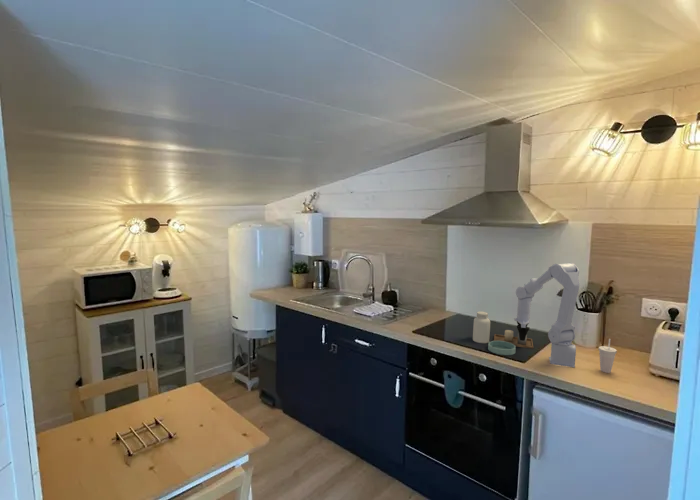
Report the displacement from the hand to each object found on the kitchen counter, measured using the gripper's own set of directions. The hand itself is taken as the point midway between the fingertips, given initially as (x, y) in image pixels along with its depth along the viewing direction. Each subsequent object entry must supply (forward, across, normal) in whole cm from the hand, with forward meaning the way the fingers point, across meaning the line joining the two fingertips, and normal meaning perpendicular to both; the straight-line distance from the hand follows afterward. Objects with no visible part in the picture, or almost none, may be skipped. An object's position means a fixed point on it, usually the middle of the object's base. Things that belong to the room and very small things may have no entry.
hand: (521, 337), depth 192 cm
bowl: (+4, +12, -9) cm, 16 cm away
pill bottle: (+4, +2, -19) cm, 19 cm away
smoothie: (+4, +18, +32) cm, 37 cm away
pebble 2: (+3, 0, 0) cm, 3 cm away
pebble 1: (+3, -3, -6) cm, 7 cm away
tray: (+4, -2, -4) cm, 6 cm away
